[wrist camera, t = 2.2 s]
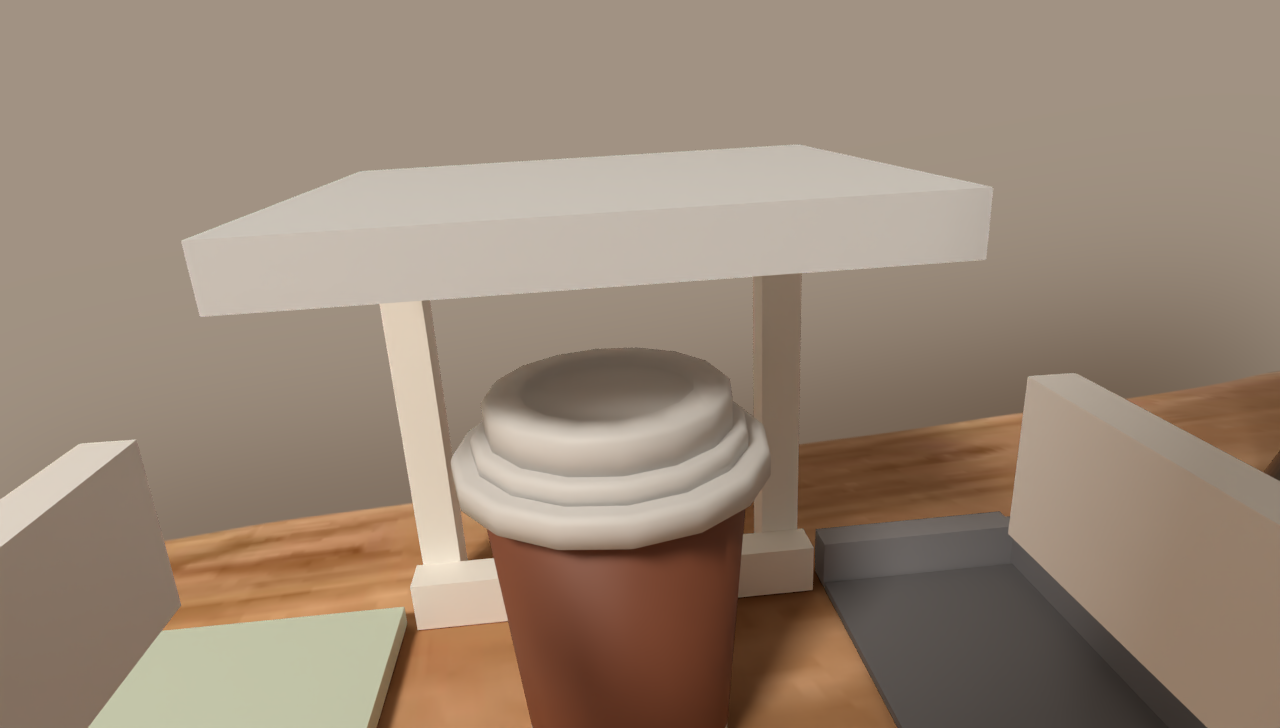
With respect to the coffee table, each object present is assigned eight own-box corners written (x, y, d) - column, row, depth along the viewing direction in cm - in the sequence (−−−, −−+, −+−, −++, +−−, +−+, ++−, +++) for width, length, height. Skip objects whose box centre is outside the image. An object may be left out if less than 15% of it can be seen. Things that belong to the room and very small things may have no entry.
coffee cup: (611, 604, 32) (589, 322, 28) (818, 695, 27) (828, 363, 23) (432, 752, 25) (370, 408, 21) (662, 914, 20) (637, 495, 16)
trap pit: (1021, 549, 34) (1026, 508, 33) (1334, 861, 20) (1353, 803, 20) (814, 569, 33) (815, 529, 33) (992, 907, 20) (1000, 848, 19)
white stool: (792, 549, 35) (798, 144, 29) (976, 915, 19) (1068, 203, 14) (429, 585, 34) (360, 171, 28) (316, 1003, 18) (109, 268, 12)
